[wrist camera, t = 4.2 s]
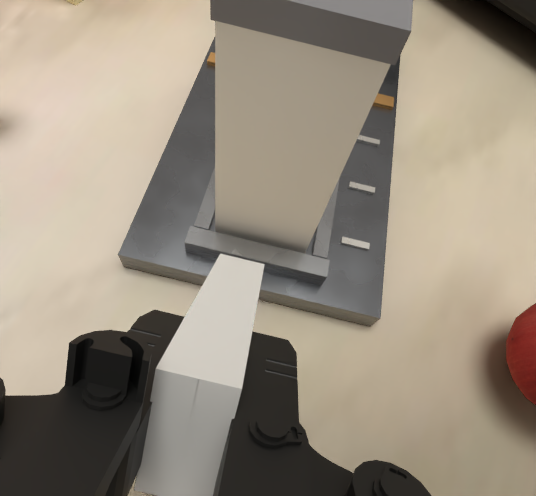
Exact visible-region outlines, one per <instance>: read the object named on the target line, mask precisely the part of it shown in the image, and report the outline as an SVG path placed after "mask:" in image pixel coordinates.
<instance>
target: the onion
mask: <svg viewBox="0 0 536 496" xmlns="http://www.w3.org/2000/svg"><path fill="white" fill-rule="evenodd" d="M506 360H507V364H508V367H509V370H510V373H511V376H512V379H513V381H514V382H515V383H516V385H517V386H518V388H519V389H520V390H521V392H522V393H523V395H524V396H525V397H526V398H527V399H528V400H529V401H531V402H532V403H533V404H535V405H536V303H535V304H534V305H532V306H531V307H529V308H528V309H527V310H525V311H524V312H523V313H522V314H520V315H519V316H518V317H517V318H516V319H515V321H514V323H513V325H512V327H511V330H510V333H509V335H508V338H507V341H506Z"/></svg>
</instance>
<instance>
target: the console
mask: <svg viewBox="0 0 536 496" xmlns="http://www.w3.org/2000/svg"><path fill="white" fill-rule="evenodd" d="M399 64H400V56H399V58H398V60H397V63H396V65H390V67H389V70H388V72H387V74H386V76H385V78H384V81H383V83H382V85H381V87H380V89H379V92H378V94H377V96H376V98H375V100H374V103H373V105H372V107H371V109H370V111H369V114H368V116H367V118H366V120H365V122H364V125H363V127H362V129H361V131H360V133H359V136H358V138H357V140H356V142H355V144H354V147H353V149H352V151H351V153H350V156H349V158H348V160H347V162H346V164H345V167H344V169H343V171H342V173H341V175H340V178H339V180H338V182H337V184H336V186H335V189H334V191H333V193H332V195H331V197H330V200H329V202H328V204H327V206H326V208H325V211H324V213H323V215H322V217H321V219H320V222H319V224H318V226H317V228H316V230H315V233H314V235H313V237H312V239H311V241H310V244H309V246H308V248H307V250H306V252H305V254H304V253H300V252H296V251H292V250H287V249H283V248H279V247H275V246H271V245H267V244H263V243H259V242H255V241H251V240H246V239H242V238H238V237H234V236H230V235H226V234H222V233H218V232H215V37H214V40H213V42H212V44H211V46H210V49H209V51H208V53H207V55H206V58H205V60H204V62H203V64H202V67H201V69H200V71H199V73H198V76H197V78H196V80H195V82H194V85H193V87H192V89H191V91H190V94H189V96H188V98H187V100H186V103H185V105H184V107H183V109H182V112H181V114H180V116H179V118H178V121H177V123H176V125H175V127H174V130H173V132H172V134H171V136H170V139H169V141H168V143H167V145H166V148H165V150H164V152H163V154H162V157H161V159H160V161H159V163H158V166H157V168H156V170H155V172H154V175H153V177H152V179H151V181H150V184H149V186H148V188H147V190H146V193H145V195H144V197H143V199H142V202H141V204H140V206H139V208H138V211H137V213H136V215H135V217H134V220H133V222H132V224H131V226H130V229H129V231H128V233H127V235H126V238H125V240H124V242H123V244H122V247H121V249H120V251H119V253H118V256H119V258H120V260H121V262H122V264H123V266H124V267H128V268H132V269H136V270H140V271H144V272H148V273H153V274H157V275H161V276H165V277H169V278H173V279H177V280H181V281H185V282H190V283H194V284H198V285H203V283H204V282H205V280H206V278H207V276H208V275H209V273H210V271H211V269H212V267H213V266H214V264H215V262H216V260H217V258H218V257H219V255H220V254H224V255H228V256H233V257H237V258H241V259H245V260H249V261H253V262H257V263H261V264H265V265H264V270H263V276H262V281H261V287H260V292H259V298H258V299H260V300H264V301H268V302H272V303H276V304H280V305H284V306H288V307H293V308H297V309H301V310H305V311H309V312H313V313H317V314H321V315H326V316H330V317H334V318H338V319H342V320H346V321H350V322H354V323H359V324H363V325H367V326H371V325H373V324H374V323H375V322H376V321H378V320H379V319H380V317H381V303H382V290H383V277H384V264H385V250H386V237H387V224H388V210H389V197H390V184H391V170H392V157H393V144H394V131H395V117H396V104H397V91H398V77H399Z"/></svg>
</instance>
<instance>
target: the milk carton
mask: <svg viewBox="0 0 536 496" xmlns="http://www.w3.org/2000/svg"><path fill="white" fill-rule="evenodd" d="M66 1H67V2H69V3H71V4H73V5H75V6H76V5H77V4H79V3H80V2H82V1H83V0H66Z"/></svg>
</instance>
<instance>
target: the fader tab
mask: <svg viewBox="0 0 536 496" xmlns="http://www.w3.org/2000/svg"><path fill="white" fill-rule="evenodd" d="M210 1H211V20H214V21H215V232H218V233H222V234H226V235H230V236H234V237H238V238H242V239H246V240H251V241H255V242H259V243H263V244H267V245H271V246H275V247H279V248H283V249H287V250H292V251H296V252H300V253H304V254H305V252H306V250H307V248H308V246H309V244H310V241H311V239H312V237H313V235H314V233H315V230H316V228H317V226H318V224H319V222H320V219H321V217H322V215H323V213H324V211H325V208H326V206H327V204H328V202H329V200H330V197H331V195H332V193H333V191H334V189H335V186H336V184H337V182H338V180H339V178H340V175H341V173H342V171H343V169H344V167H345V164H346V162H347V160H348V158H349V156H350V153H351V151H352V149H353V147H354V144H355V142H356V140H357V138H358V136H359V133H360V131H361V129H362V127H363V125H364V122H365V120H366V118H367V116H368V114H369V111H370V109H371V107H372V105H373V103H374V100H375V98H376V96H377V94H378V92H379V89H380V87H381V85H382V83H383V81H384V78H385V76H386V74H387V72H388V70H389V67H390V65H396V63H397V60H398V58H399V56H400V54H401V52H402V50H403V48H404V45H405V43H406V41H407V39H408V37H409V35H410V33H411V25H412V8H413V0H210Z"/></svg>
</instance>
